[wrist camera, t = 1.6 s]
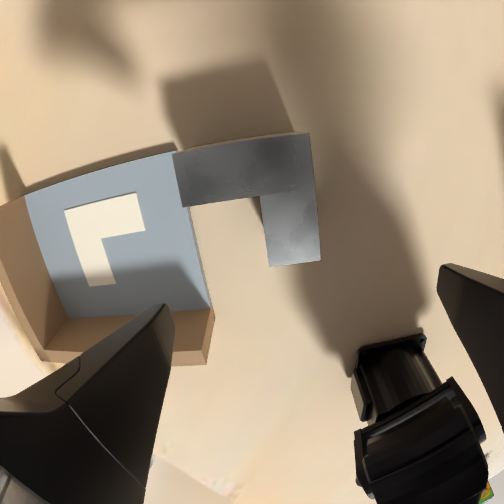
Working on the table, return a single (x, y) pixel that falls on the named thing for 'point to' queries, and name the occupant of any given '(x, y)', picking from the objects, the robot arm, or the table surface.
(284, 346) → the table surface
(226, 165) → the bracket
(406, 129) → the table surface
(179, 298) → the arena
